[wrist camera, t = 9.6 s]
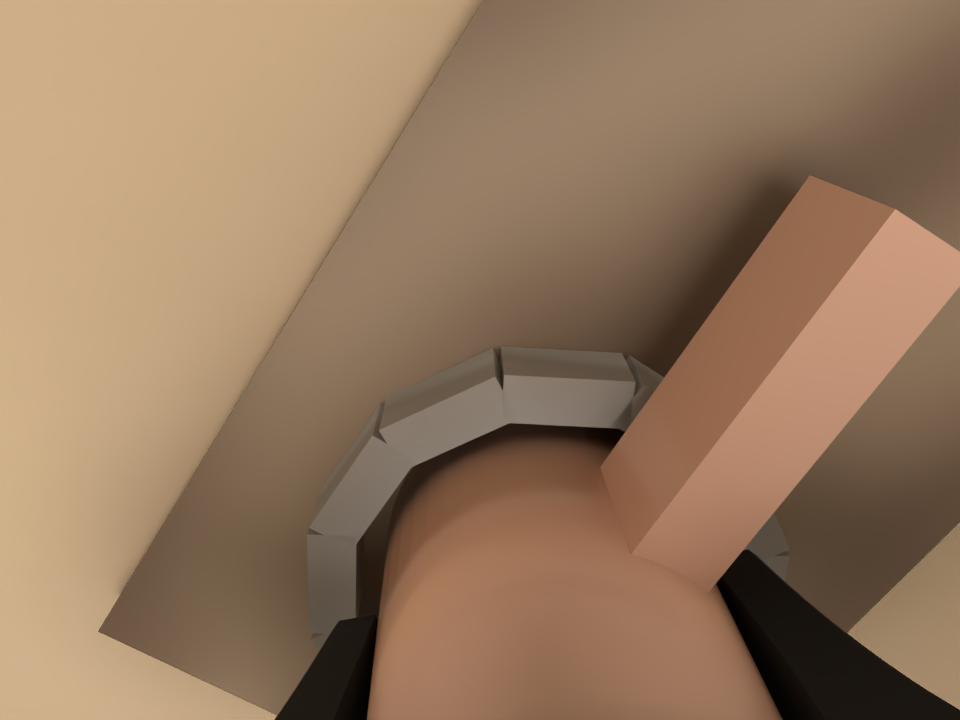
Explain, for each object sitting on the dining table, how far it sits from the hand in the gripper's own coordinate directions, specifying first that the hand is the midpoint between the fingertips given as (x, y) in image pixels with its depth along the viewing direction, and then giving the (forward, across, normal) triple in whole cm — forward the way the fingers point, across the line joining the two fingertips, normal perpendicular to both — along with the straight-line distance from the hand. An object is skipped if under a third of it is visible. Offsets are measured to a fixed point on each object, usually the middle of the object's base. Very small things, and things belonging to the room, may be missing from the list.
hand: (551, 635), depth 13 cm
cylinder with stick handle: (+2, -2, -2) cm, 3 cm away
